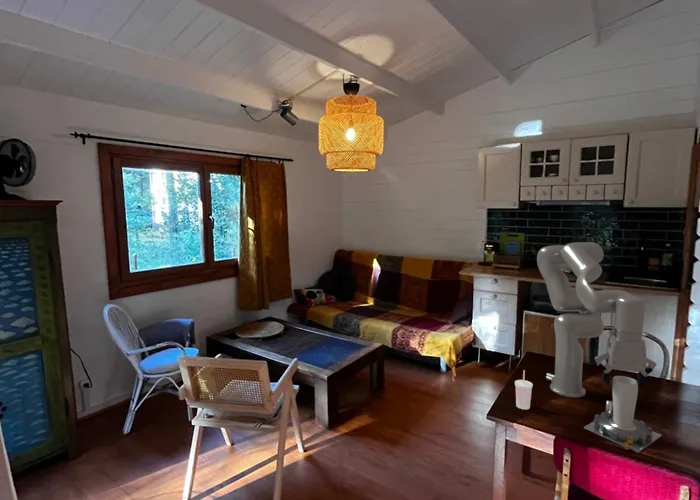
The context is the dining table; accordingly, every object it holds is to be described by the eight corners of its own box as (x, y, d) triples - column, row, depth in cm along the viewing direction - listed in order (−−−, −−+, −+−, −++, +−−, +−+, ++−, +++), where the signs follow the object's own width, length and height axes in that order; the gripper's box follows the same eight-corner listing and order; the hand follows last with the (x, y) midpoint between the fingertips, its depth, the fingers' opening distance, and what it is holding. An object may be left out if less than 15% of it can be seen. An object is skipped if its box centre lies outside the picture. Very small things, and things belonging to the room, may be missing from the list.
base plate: (580, 429, 131) (580, 425, 130) (608, 414, 140) (608, 410, 140) (635, 455, 117) (635, 450, 117) (661, 436, 126) (662, 432, 126)
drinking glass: (605, 418, 132) (607, 376, 130) (624, 417, 132) (627, 375, 131) (621, 430, 125) (623, 385, 124) (640, 428, 126) (643, 384, 124)
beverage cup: (513, 408, 145) (514, 371, 144) (514, 401, 151) (515, 365, 149) (531, 412, 142) (532, 374, 141) (532, 404, 148) (533, 368, 146)
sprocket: (621, 447, 120) (623, 425, 119) (582, 420, 135) (583, 400, 135) (665, 441, 123) (667, 419, 122) (622, 415, 138) (623, 396, 137)
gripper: (601, 336, 124) (597, 387, 127) (665, 340, 120) (659, 393, 123) (593, 328, 131) (589, 376, 134) (652, 332, 127) (647, 381, 130)
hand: (622, 384), depth 128 cm, fingers open, 9 cm apart
